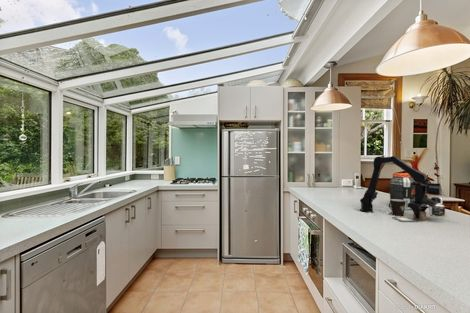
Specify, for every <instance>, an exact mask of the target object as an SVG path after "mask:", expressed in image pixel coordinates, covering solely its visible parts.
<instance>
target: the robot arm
mask: <svg viewBox="0 0 470 313" xmlns="http://www.w3.org/2000/svg"><path fill="white" fill-rule="evenodd" d="M387 163H393V164H394V165H396V166H397V167H399V168H400V169H401V170H403V171H404V172H405V173H406V174H409V175H410V176H411V177H412V179H413V180H414V182H413V183H412V184H411V185H415V194H413V196H415V198H414V201H413V202H411V203H408V207H410V208H411V211H412V212H413V213H414V214H415V216H416V218H417V219H419V216H420V211H423V212H426V211H427V209H429V206H430V207H435V206H436V204H437V202H438V201H437V199H436V198H432V197H431V198H432V199H431V198H430V197H428V194H429V195H436V196H437V195H438V196H440V195H441V194H442V185H441V183H440V182H437V183H435V182H431V181H430V180H429V179H428V178H427V176H428V175H427V174H426V173H424V172H422V171H420V170H417V169H415V168H413V167H412V166H410V165H409V164H407V163H406V162H404V161H403V160H401V159H400V158H398V156H395V155H392V156H385V157H384V156H376V157H374V159H373V170H372V174H371V178H370V181H369V184H368V188H367V189H366V191H365V192H364V195H363V197H361V199H360V200H359V201H360V209H359V210H360V211H361V212H363V213H374V211H373V210H374V209H373V208H374V206H373V202H374V200H375V199H377V196H378V192H377V185H378V182H379V179H380V176H381V172H382V169H383V168H384V167H385V165H386V164H387ZM427 193H428V194H427Z"/></svg>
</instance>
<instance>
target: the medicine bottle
mask: <svg viewBox="0 0 470 313" xmlns="http://www.w3.org/2000/svg"><path fill="white" fill-rule="evenodd" d="M432 198H436V199H437V201H438V202H437V204H436V206H435V207H430V206H429V205H428V207H429V208H428V214H429V215H430V216H431V217H441V218H445V217H446V206H445V205H444V202H443V198H442V197H437V196H433V197H431V199H432Z"/></svg>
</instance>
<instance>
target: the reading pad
mask: <svg viewBox="0 0 470 313" xmlns="http://www.w3.org/2000/svg"><path fill="white" fill-rule="evenodd" d="M391 219H393V220H396V221H397V220H398V221H397V222H399V223H400V222H401V223H419V220H414V219H413V218H410V217H408V216H392V217H391Z"/></svg>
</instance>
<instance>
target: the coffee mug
mask: <svg viewBox="0 0 470 313" xmlns="http://www.w3.org/2000/svg"><path fill="white" fill-rule="evenodd" d="M405 202H406V201H405V200H400V199H391V203H390V202H389V203H388V208H389V209H390V210H391V214H392V216H394V215H395V216H394V217H405V210H404V209H405ZM390 204H391V206H390Z"/></svg>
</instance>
